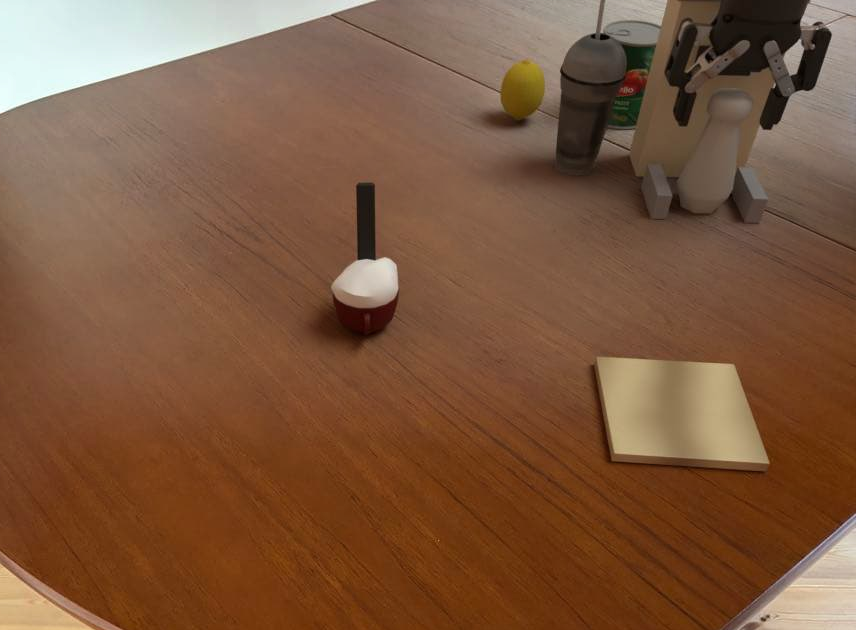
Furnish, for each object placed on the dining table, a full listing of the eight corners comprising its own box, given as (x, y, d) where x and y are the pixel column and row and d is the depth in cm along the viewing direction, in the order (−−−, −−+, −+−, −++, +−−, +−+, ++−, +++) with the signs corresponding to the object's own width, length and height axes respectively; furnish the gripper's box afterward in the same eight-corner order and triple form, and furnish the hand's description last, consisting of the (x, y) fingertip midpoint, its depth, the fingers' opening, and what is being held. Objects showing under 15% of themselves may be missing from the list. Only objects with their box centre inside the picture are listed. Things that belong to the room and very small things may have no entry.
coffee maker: (733, 156, 105) (803, -48, 89) (766, 223, 94) (852, 4, 78) (624, 153, 106) (673, -49, 90) (644, 218, 95) (704, 2, 79)
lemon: (491, 125, 112) (499, 64, 107) (503, 107, 116) (512, 48, 111) (533, 132, 111) (543, 71, 105) (544, 115, 114) (554, 54, 109)
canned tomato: (645, 104, 116) (666, 21, 108) (651, 131, 110) (674, 45, 103) (584, 101, 117) (601, 18, 109) (587, 127, 111) (605, 42, 104)
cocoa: (379, 355, 79) (384, 245, 71) (317, 339, 81) (315, 230, 73) (413, 298, 86) (420, 191, 77) (355, 284, 88) (356, 178, 79)
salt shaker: (734, 203, 97) (774, 91, 88) (711, 224, 94) (750, 110, 85) (685, 186, 100) (719, 76, 91) (662, 205, 97) (694, 94, 88)
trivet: (730, 372, 77) (734, 363, 76) (766, 471, 68) (770, 463, 68) (593, 364, 78) (595, 356, 77) (611, 461, 69) (614, 453, 69)
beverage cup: (555, 183, 101) (589, 7, 87) (535, 154, 106) (563, -17, 93) (614, 177, 102) (657, 1, 88) (591, 149, 107) (627, -22, 93)
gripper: (707, -29, 77) (659, 139, 89) (873, -26, 76) (803, 144, 87) (690, -55, 83) (647, 107, 94) (845, -52, 82) (783, 112, 93)
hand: (723, 125), depth 91 cm, fingers open, 8 cm apart
